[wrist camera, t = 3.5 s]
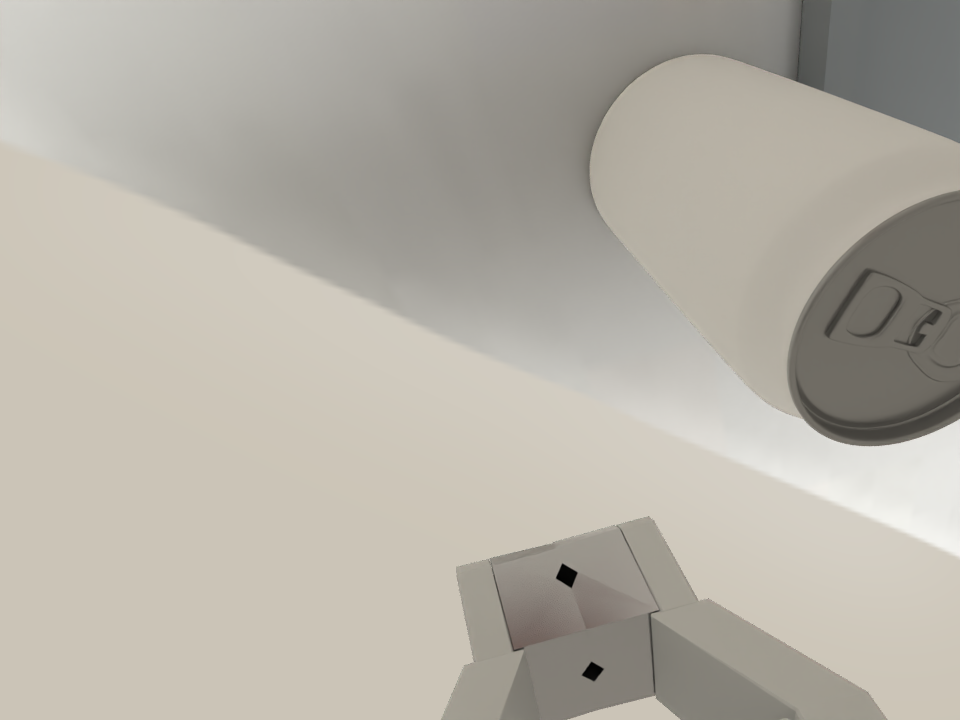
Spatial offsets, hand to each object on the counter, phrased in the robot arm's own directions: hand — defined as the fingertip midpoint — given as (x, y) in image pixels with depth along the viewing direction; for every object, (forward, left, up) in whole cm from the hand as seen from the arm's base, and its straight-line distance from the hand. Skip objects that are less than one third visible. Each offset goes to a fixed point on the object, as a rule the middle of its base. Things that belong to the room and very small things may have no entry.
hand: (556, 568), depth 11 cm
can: (-8, 0, -15) cm, 18 cm away
